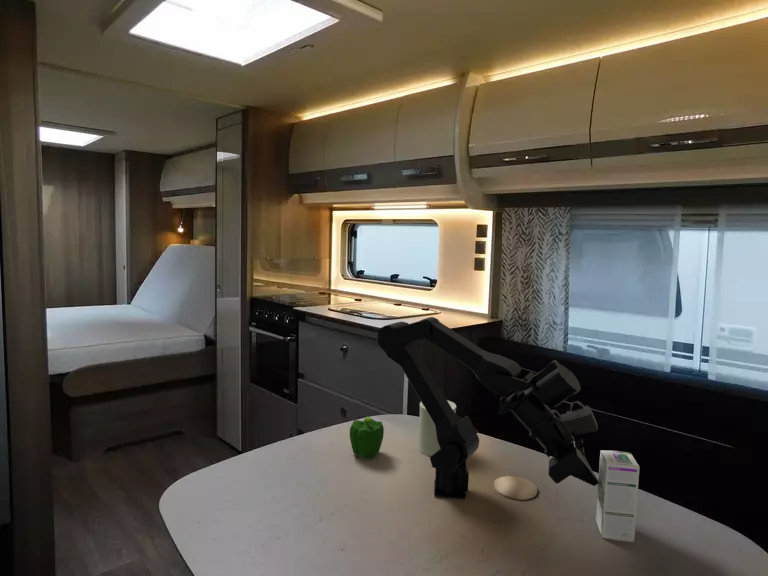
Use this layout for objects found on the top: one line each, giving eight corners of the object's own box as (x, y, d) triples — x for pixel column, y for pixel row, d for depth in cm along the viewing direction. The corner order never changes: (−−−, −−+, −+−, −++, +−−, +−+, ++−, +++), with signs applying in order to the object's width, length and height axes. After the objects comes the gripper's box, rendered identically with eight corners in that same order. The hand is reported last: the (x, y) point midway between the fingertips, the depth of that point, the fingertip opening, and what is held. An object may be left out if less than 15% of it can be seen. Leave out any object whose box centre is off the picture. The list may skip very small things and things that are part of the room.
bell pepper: (352, 445, 127) (353, 407, 126) (384, 448, 126) (386, 410, 125) (345, 460, 119) (346, 419, 117) (379, 463, 118) (381, 422, 116)
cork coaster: (496, 498, 104) (496, 495, 104) (491, 476, 113) (491, 474, 113) (540, 501, 103) (541, 499, 103) (532, 480, 112) (533, 477, 112)
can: (414, 441, 130) (416, 396, 129) (449, 440, 131) (451, 396, 130) (421, 457, 121) (423, 409, 120) (458, 456, 122) (460, 409, 121)
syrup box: (635, 543, 90) (642, 466, 88) (600, 538, 91) (606, 462, 89) (626, 525, 95) (633, 452, 94) (593, 520, 97) (599, 448, 95)
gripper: (573, 409, 84) (641, 484, 82) (570, 379, 102) (625, 439, 100) (522, 447, 87) (586, 519, 85) (527, 411, 105) (580, 470, 103)
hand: (596, 483), depth 93 cm, fingers closed
